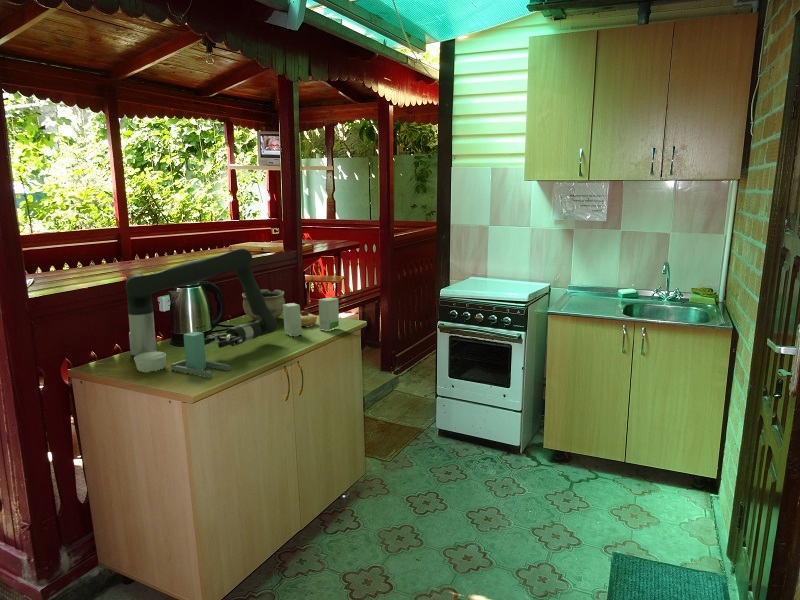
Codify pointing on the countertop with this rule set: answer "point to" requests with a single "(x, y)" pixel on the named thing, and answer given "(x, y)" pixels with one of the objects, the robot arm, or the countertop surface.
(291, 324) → the skincare box
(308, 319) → the pastry
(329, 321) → the skincare box
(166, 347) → the countertop surface
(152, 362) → the ramekin
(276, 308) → the ceramic bowl
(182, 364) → the grey rectangular frame
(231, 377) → the countertop surface
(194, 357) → the teal block
